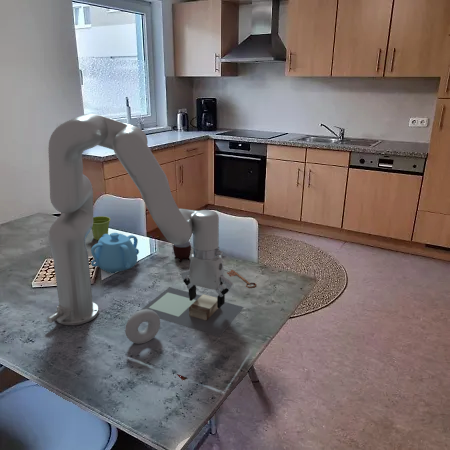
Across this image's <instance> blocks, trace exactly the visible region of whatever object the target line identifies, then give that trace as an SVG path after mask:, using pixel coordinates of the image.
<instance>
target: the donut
mask: <svg viewBox="0 0 450 450" xmlns="http://www.w3.org/2000/svg"><path fill="white" fill-rule="evenodd" d="M142 309H143V308H142ZM145 322H146V323H147V326H146V328H144V329H143V330H139V327H140V326H141V324H143V323H145ZM160 328H161V319H160V318H159V316H158V315H157V313H156V312H154V311H153V310H149V309H143V310H141V309H140V310H138V311H137V310H136V312H134V313H133V314H131V315H130V317H129V318H128V319H127V322H126V324H125V330H124V332H125V336H126V338H127V339H128V340H129V342H131V343H133V344H137V345H138V344H139V345H141V344H146V343H148V342H150V341H152V340H153V339H154V338H155V337H156V336H157V334H158V333H159V330H160Z"/></svg>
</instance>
